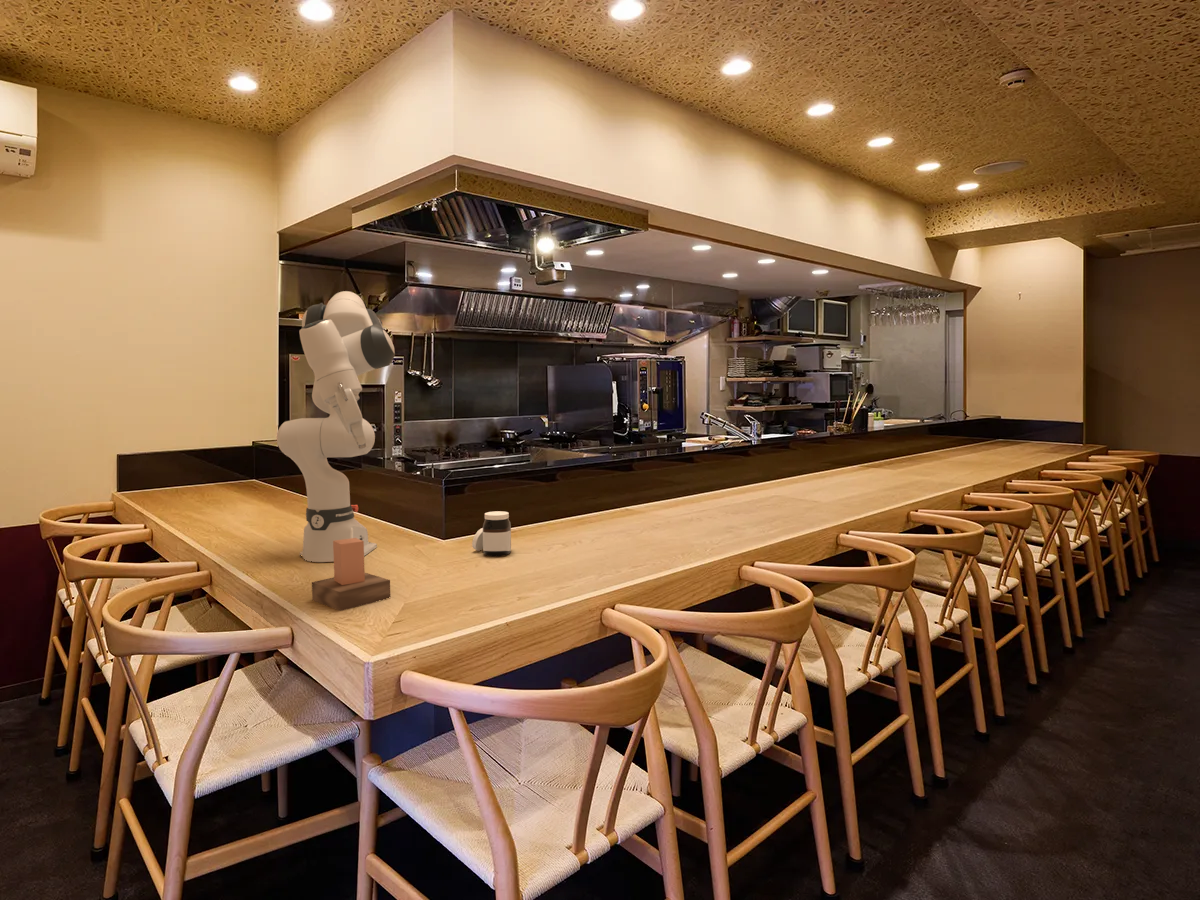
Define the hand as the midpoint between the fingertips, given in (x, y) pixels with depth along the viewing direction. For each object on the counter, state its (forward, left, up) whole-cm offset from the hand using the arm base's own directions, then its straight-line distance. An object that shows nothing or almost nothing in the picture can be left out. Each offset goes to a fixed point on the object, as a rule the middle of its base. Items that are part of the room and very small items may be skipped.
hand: (363, 446), depth 156 cm
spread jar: (-43, +15, -34) cm, 57 cm away
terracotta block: (+5, -1, -30) cm, 30 cm away
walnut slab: (+5, -1, -34) cm, 35 cm away
